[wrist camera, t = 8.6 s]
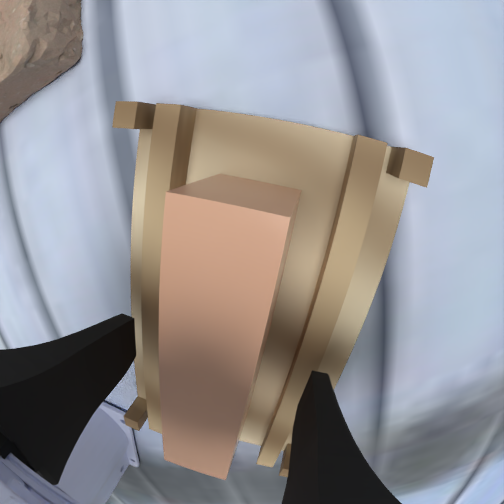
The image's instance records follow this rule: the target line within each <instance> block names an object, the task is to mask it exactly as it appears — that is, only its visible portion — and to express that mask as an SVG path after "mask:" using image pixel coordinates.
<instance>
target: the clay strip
mask: <svg viewBox="0 0 504 504" xmlns="http://www.w3.org/2000/svg"><path fill="white" fill-rule="evenodd" d="M301 191H302V190H298V189H294V188H289V187H285V186H280V185H275V184H271V183H266V182H261V181H256V180H251V179H246V178H241V177H235V176H230V175H225V174H217V175H214V176H211V177H208V178H204V179H201V180H198V181H195V182H192V183H189V184H186V185H183V186H181V187H178V188H175V189H172V190H169V191H166V196H165V206H164V218H163V231H162V246H161V263H160V287H159V384H160V406H161V423H162V437H163V449H164V459H165V460H167V461H169V462H172V463H175V464H177V465H180V466H183V467H186V468H189V469H191V470H194V471H197V472H200V473H204V474H207V475H210V476H213V477H217V478H220V479H223V480H226V478H227V475H228V472H229V469H230V466H231V463H232V460H233V457H234V454H235V451H236V448H237V445H238V442H239V439H240V436H241V433H242V430H243V427H244V424H245V421H246V417H247V414H248V410H249V406H250V403H251V399H252V395H253V392H254V388H255V384H256V380H257V377H258V373H259V369H260V365H261V361H262V358H263V354H264V350H265V346H266V342H267V338H268V334H269V330H270V326H271V322H272V318H273V314H274V310H275V306H276V302H277V297H278V293H279V289H280V285H281V281H282V276H283V272H284V268H285V263H286V259H287V255H288V250H289V246H290V241H291V237H292V232H293V228H294V223H295V219H296V214H297V209H298V205H299V200H300V195H301Z"/></svg>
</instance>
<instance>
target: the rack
mask: <svg viewBox="0 0 504 504" xmlns="http://www.w3.org/2000/svg"><path fill="white" fill-rule="evenodd" d="M113 128H129V129H140V133H139V141H138V150H137V159H136V169H135V180H134V193H133V209H132V229H131V315H132V318H135V340H136V357H135V359H134V364H135V375H136V385H137V394H138V397H137V398H136V399H135V401H134V402H133V404H132V405H131V406H130V408H129V409H128V411H127V412H126V413H125V415H124V421H125V425H127V426H129V427H131V428H133V429H135V430H138V431H139V430H140V429H141V427H142V426H143V424H144V422H145V421H146V419H147V418H148V422H149V429H151V430H153V431H156V432H158V433H161V434H162V423H161V406H160V384H159V287H160V263H161V246H162V231H163V218H164V206H165V196H166V191H169V190H172V189H175V188H178V187H181V186H183V185H186V184H189V183H192V182H195V181H198V180H201V179H204V178H208V177H211V176H214V175H217V174H225V175H230V176H235V177H241V178H246V179H251V180H256V181H261V182H266V183H271V184H275V185H280V186H285V187H289V188H294V189H298V190H302V191H301V195H300V200H299V205H298V209H297V214H296V219H295V223H294V228H293V232H292V237H291V241H290V246H289V250H288V255H287V259H286V263H285V268H284V272H283V276H282V281H281V285H280V289H279V293H278V297H277V302H276V306H275V310H274V314H273V318H272V322H271V326H270V330H269V334H268V338H267V342H266V346H265V350H264V354H263V358H262V361H261V365H260V369H259V373H258V377H257V380H256V384H255V388H254V392H253V395H252V399H251V403H250V406H249V410H248V414H247V417H246V421H245V424H244V427H243V430H242V433H241V436H240V439H239V440H240V441H244V442H248V443H252V444H256V445H260V446H261V448H260V452H259V456H258V460H257V463H256V464H259V465H264V466H268V467H273V465H274V463H275V461H276V459H277V457H278V456H279V454H280V452H281V450H282V451H284V453H283V458H282V463H281V468H280V473H279V475H280V476H285V477H288V471H289V462H290V452H291V442H292V432H293V425H294V420H295V415H296V410H297V406H298V403H299V401H300V398H301V396H302V394H303V391H304V389H305V386H306V384H307V382H308V379H309V377H310V374H311V372H312V370H313V371H318V372H323V373H327V374H328V375H329V377H330V380H331V384H332V387H333V390H334V388H335V386H336V384H337V382H338V380H339V378H340V376H341V373H342V371H343V369H344V367H345V365H346V363H347V360H348V358H349V356H350V354H351V352H352V349H353V347H354V345H355V342H356V340H357V338H358V335H359V333H360V331H361V328H362V326H363V323H364V321H365V318H366V316H367V313H368V311H369V308H370V306H371V303H372V300H373V298H374V295H375V292H376V290H377V287H378V284H379V281H380V279H381V276H382V273H383V270H384V267H385V264H386V261H387V258H388V255H389V252H390V249H391V246H392V243H393V240H394V236H395V233H396V230H397V226H398V223H399V219H400V216H401V212H402V209H403V205H404V201H405V198H406V194H407V190H408V186H409V182H411V183H415V184H418V185H421V186H424V187H427V185H428V181H429V177H430V172H431V168H432V164H433V159H434V157H431V156H428V155H426V154H423V153H420V152H417V151H414V150H411V149H408V148H401V147H390V146H387V143H385V142H382V141H379V140H375V139H372V138H368V137H364V136H361V135H355V136H351V135H347V134H343V133H339V132H334V131H330V130H326V129H322V128H317V127H312V126H308V125H303V124H298V123H293V122H288V121H282V120H277V119H271V118H265V117H259V116H253V115H246V114H239V113H232V112H224V111H215V110H206V109H197V108H192V107H188V106H184V105H176V104H160V103H156V105H155V104H149V103H143V102H124V101H116V105H115V112H114V119H113Z"/></svg>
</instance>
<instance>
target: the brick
mask: <svg viewBox="0 0 504 504" xmlns="http://www.w3.org/2000/svg"><path fill="white" fill-rule="evenodd" d="M80 2H81V0H0V122H1V121H2V120H3V119H4V118H5V117H6V116H8V115H9V114H10V113H11V112H12V111H13V110H14V109H15V108H16V107H18V106H19V105H20V104H21V103H23V102H24V101H25V100H26V99H27V98H28V97H30V96H31V95H32V94H33V93H35V92H37V91H39V90H40V89H41V88H43V87H44V86H46V85H47V84H48V83H50V82H51V81H53V80H54V79H55V78H57V77H58V76H59V75H60V74H62V73H64V72H65V71H67V70H68V69H69V68H71V67H72V66H73V65H75V64H76V62H77V61H78V60H79V59H80V57H81V52H82V43H81V42H82V40H83V32H82V26H81V20H80V16H81V3H80Z"/></svg>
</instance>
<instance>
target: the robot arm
mask: <svg viewBox="0 0 504 504" xmlns="http://www.w3.org/2000/svg"><path fill="white" fill-rule="evenodd" d="M135 357H136V340H135V318H132V317H130V316H127V315H124V314H120V315H117V316H115V317H112V318H110V319H108V320H105V321H103V322H101V323H98V324H96V325H93V326H91V327H89V328H86V329H84V330H81V331H79V332H76V333H73V334H71V335H68V336H65V337H62V338H60V339H57V340H53V341H50V342H46V343H42V344H38V345H34V346H28V347H22V348H16V349H6V350H0V504H105V503H106V501H107V500H108V498H109V497H110V495H111V493H112V492H113V490H114V488H115V487H116V485H117V483H118V482H119V480H120V478H121V477H122V475H123V473H124V472H125V470H126V469H127V467H128V465H129V464H130V465H132V466H135V467H139V465H140V463H139V459H138V454H137V450H136V446H135V441H134V436H133V431H132V428H131V427H129V426H127V425H125V421H124V415H125V412H124V411H121V410H119V409H117V408H115V407H113V406H111V405H109V404H107V403H105V402H103V401H104V400H105V399H106V397H107V396H108V395H109V394H110V393H111V391H112V390H113V389H114V388H115V386H116V385H117V384H118V383H119V381H120V380H121V379H122V378H123V376H124V375H125V374H126V372H127V371H128V369H129V367H130V366H131V364H132V362H133V361H134V359H135ZM282 504H402V503H401V502H399V501H398V500H397V499H396V498H395V497H394V496H393V495H392V493H391V492H390V491H389V490H388V489H387V488H386V487H385V486H384V484H383V483H382V482H381V481H380V479H379V478H378V477H377V475H376V474H375V473H374V471H373V470H372V469H371V467H370V466H369V464H368V463H367V461H366V460H365V458H364V457H363V455H362V453H361V452H360V450H359V448H358V446H357V445H356V443H355V441H354V439H353V437H352V435H351V433H350V431H349V429H348V426H347V424H346V422H345V419H344V417H343V415H342V412H341V410H340V407H339V404H338V402H337V399H336V396H335V393H334V390H333V387H332V384H331V380H330V377H329V375H328V374H327V373H323V372H318V371H313V370H312V372H311V374H310V377H309V379H308V382H307V384H306V386H305V389H304V391H303V394H302V396H301V398H300V401H299V403H298V406H297V410H296V415H295V420H294V425H293V432H292V442H291V452H290V462H289V471H288V478H287V484H286V488H285V492H284V497H283V501H282Z"/></svg>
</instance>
